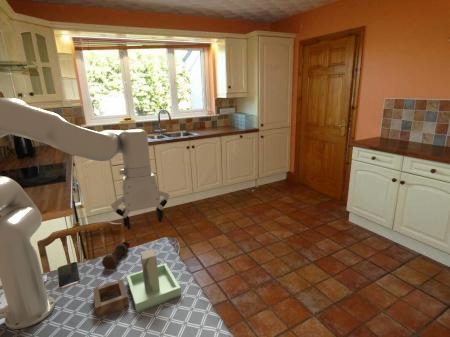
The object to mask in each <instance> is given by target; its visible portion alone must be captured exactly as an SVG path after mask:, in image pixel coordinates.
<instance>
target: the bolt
mask: <svg viewBox="0 0 450 337" xmlns="http://www.w3.org/2000/svg"><path fill="white" fill-rule="evenodd" d="M130 246H131V244H130V242H128V241H122V243H119V244H117V246H116V247H115V250H114V251H113V252H112V253H111V254H110V255H109V254H108V255H107V254H105V255H104V257H103V259H102V261H101V264H102V266H103V267H104V268H105V269H106V270H113V269H115V268H116V266H117V265H118V262H119V261H118V260H119V259H120V258H121V257H122V256H125V255H126V254H127V252H128V250H129V248H130Z"/></svg>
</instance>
